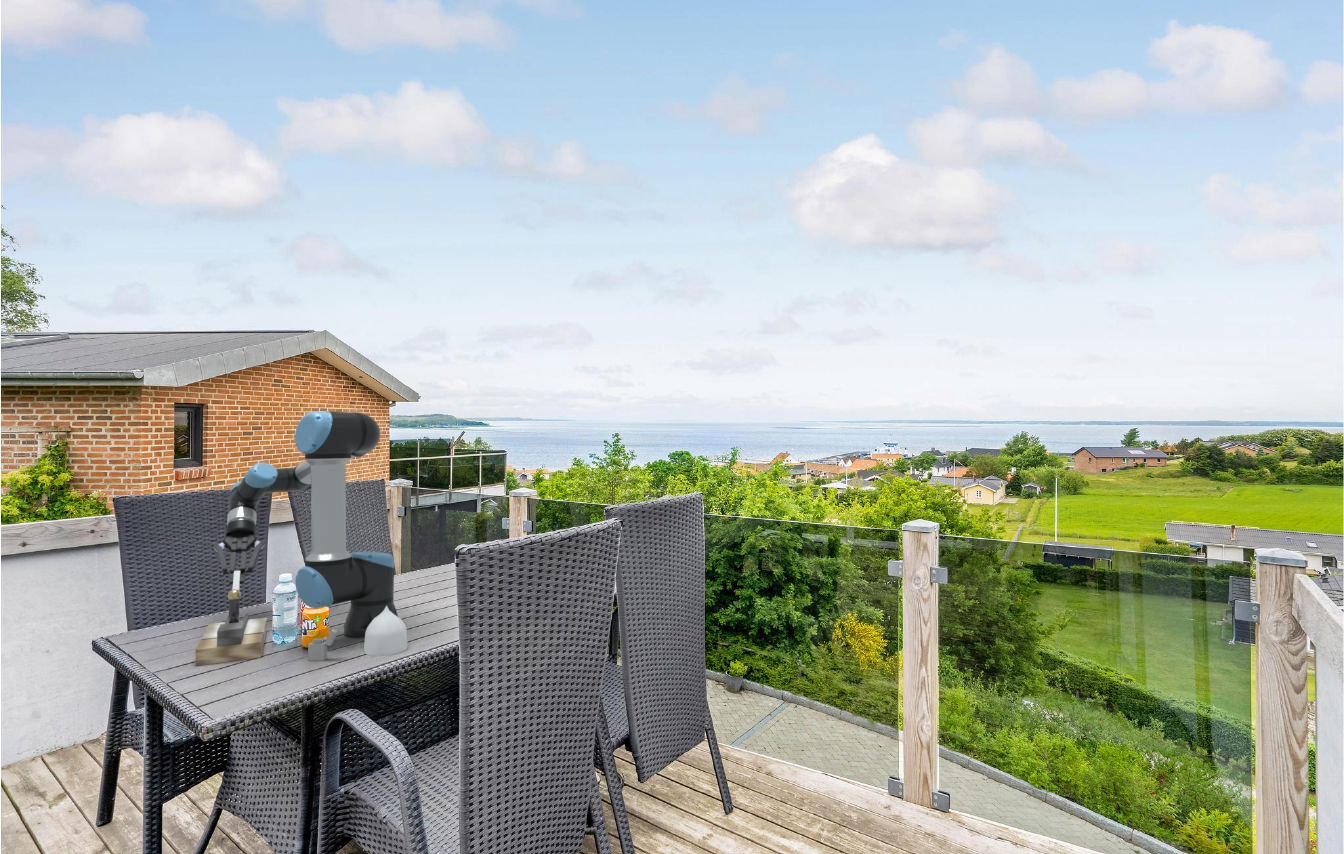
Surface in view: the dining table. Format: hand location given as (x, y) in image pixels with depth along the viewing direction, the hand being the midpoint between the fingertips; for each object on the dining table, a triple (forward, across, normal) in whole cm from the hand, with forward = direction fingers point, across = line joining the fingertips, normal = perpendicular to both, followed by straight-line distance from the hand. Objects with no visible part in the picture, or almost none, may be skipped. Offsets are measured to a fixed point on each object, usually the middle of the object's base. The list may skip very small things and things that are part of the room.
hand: (235, 592), depth 186 cm
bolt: (+15, 0, +3) cm, 15 cm away
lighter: (+30, -21, +11) cm, 39 cm away
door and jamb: (+15, 0, -4) cm, 15 cm away
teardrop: (+29, -36, +10) cm, 48 cm away
